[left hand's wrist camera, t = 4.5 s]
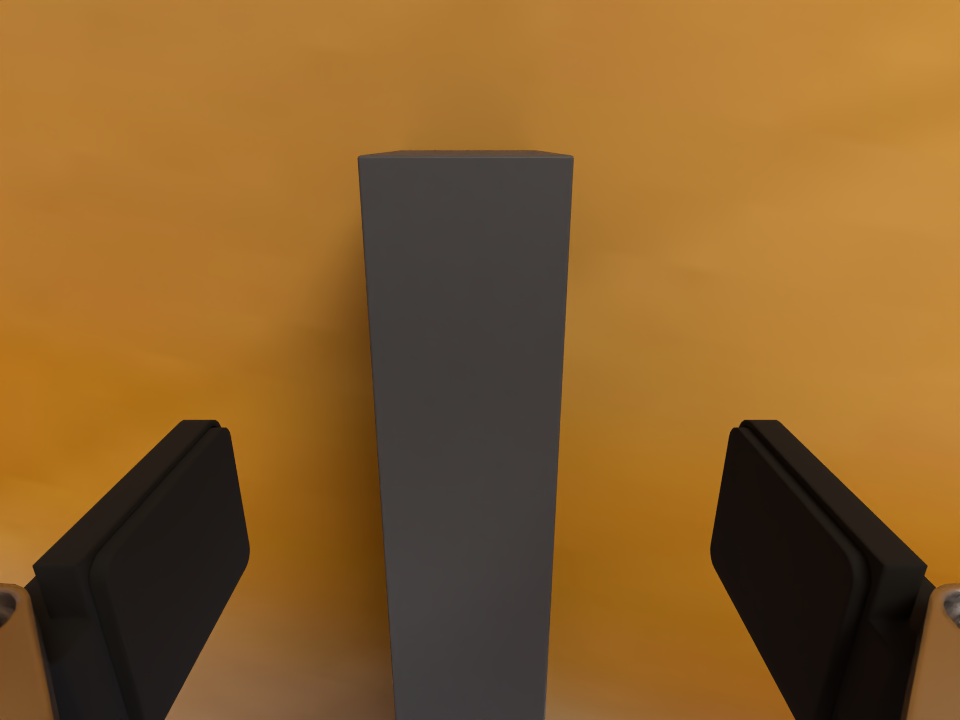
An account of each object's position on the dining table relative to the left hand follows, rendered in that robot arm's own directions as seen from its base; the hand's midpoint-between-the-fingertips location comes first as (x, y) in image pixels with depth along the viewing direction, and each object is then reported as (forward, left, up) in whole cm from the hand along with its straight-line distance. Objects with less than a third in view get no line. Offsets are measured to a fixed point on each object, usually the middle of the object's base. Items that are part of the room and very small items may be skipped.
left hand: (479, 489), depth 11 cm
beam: (+14, -25, -11) cm, 31 cm away
